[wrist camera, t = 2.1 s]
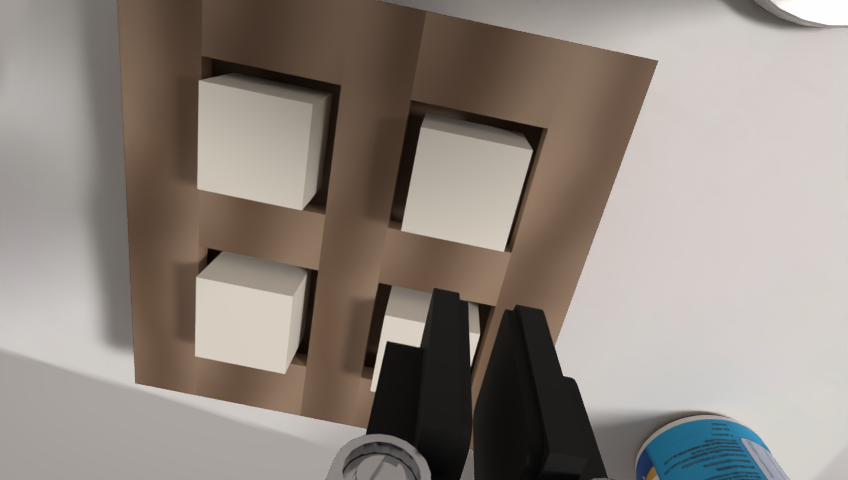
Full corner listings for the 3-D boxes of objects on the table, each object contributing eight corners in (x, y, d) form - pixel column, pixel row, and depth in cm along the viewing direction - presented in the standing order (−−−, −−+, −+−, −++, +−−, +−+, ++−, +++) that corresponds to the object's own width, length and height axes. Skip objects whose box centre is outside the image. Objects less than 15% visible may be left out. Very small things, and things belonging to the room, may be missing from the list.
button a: (522, 132, 24) (532, 150, 20) (497, 222, 25) (504, 252, 22) (425, 112, 23) (421, 126, 20) (408, 204, 25) (400, 230, 22)
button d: (477, 297, 27) (480, 334, 24) (458, 365, 29) (458, 408, 26) (393, 280, 27) (384, 315, 24) (380, 349, 29) (370, 391, 26)
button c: (332, 93, 23) (312, 104, 20) (321, 186, 25) (301, 210, 22) (234, 72, 23) (198, 80, 20) (230, 167, 25) (197, 189, 22)
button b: (312, 264, 27) (292, 296, 24) (304, 334, 29) (284, 374, 26) (227, 246, 27) (195, 277, 24) (224, 318, 29) (194, 356, 25)
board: (627, 54, 24) (658, 60, 20) (507, 408, 33) (514, 457, 29) (168, -44, 23) (114, -56, 20) (171, 342, 32) (135, 383, 29)
